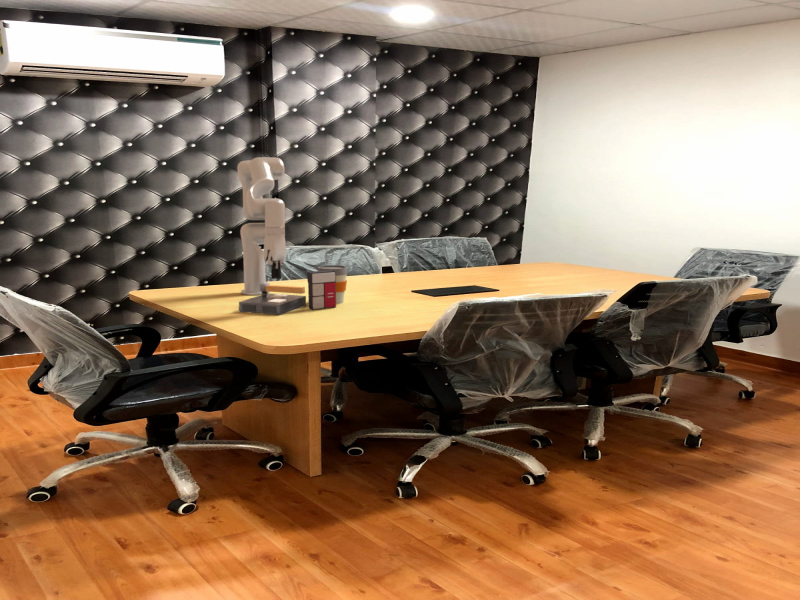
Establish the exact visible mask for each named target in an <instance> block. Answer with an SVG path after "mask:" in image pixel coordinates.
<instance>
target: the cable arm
mask: <svg viewBox="0 0 800 600" xmlns="http://www.w3.org/2000/svg"><path fill="white" fill-rule="evenodd" d="M260 291H268V292H269V293H271V292H272V293H284V294H285V293H286V294H301V295H302V294H305V293H306V291H305V286H296V285H295V286H293V285H279V284H278V285H277V284H270V285H269V284H267V283H263V284H260Z"/></svg>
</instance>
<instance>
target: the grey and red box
mask: <svg viewBox="0 0 800 600" xmlns="http://www.w3.org/2000/svg"><path fill="white" fill-rule="evenodd" d="M306 274H307V276H306V279H307V284H308V285H307V287H308V289H307V293H308V309H309V310H312V311H315V310H324V309H334V308H337V304H336V272H335V271H332V270H327V271H318V270H315V271H314V270H313V271H307V273H306Z"/></svg>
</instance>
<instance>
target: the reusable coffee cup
mask: <svg viewBox="0 0 800 600" xmlns="http://www.w3.org/2000/svg"><path fill="white" fill-rule="evenodd" d="M327 270H332V271H335V272H336V305H339V304H340V305H341V304H343V303H344V300H345V292H346V290H347V283H348V281H347V275H348V267H347V266H345V265H340V264H339V265H334V264H333V265H332V264H331V265H321V266H318V267H317V271H327Z"/></svg>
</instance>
